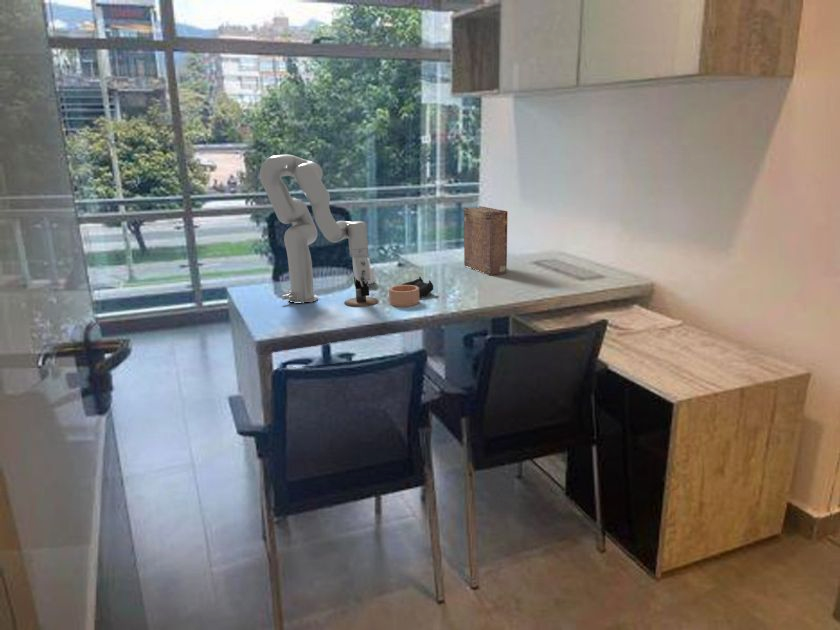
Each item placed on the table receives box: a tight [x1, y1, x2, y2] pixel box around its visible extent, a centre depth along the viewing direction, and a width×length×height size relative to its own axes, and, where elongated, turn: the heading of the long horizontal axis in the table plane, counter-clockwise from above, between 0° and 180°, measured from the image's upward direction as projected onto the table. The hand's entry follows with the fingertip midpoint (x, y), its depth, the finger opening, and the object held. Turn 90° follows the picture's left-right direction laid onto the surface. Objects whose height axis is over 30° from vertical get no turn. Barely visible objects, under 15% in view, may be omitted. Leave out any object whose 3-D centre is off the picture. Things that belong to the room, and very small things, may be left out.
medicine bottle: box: [353, 257, 376, 285], centre depth 289 cm, size 7×7×12 cm
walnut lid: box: [343, 288, 379, 308], centre depth 258 cm, size 14×14×6 cm
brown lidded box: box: [463, 205, 509, 276], centre depth 307 cm, size 25×9×30 cm, turn 26°
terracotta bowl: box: [388, 284, 421, 308], centre depth 255 cm, size 12×12×6 cm
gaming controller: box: [401, 276, 434, 299], centre depth 270 cm, size 17×6×10 cm
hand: (362, 293), depth 257 cm, fingers open, 9 cm apart
